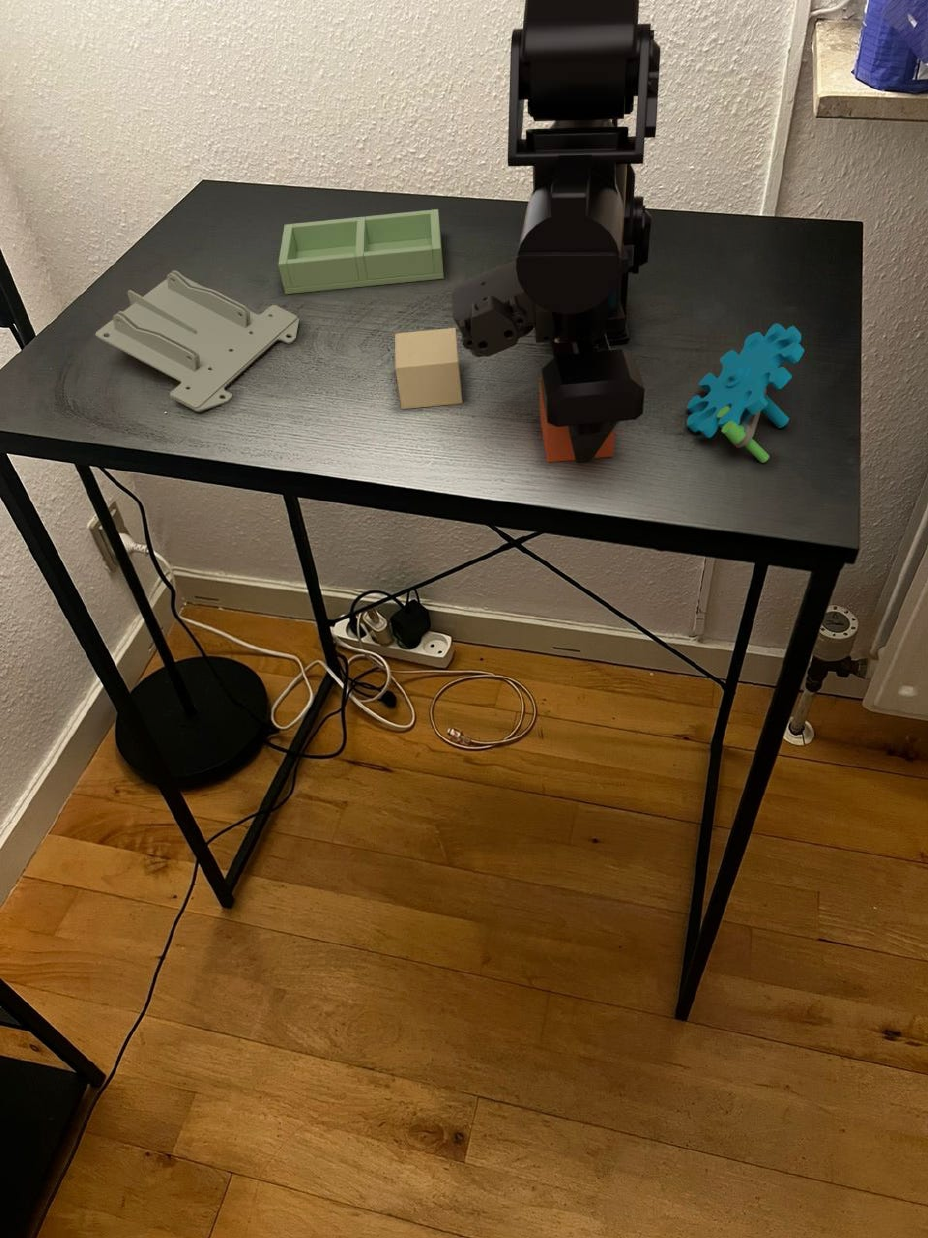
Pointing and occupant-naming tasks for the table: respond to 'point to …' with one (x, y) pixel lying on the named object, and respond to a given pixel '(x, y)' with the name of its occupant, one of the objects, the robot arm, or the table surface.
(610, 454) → the terracotta block
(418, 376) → the tan block
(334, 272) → the green divided tray
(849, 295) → the table surface
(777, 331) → the gear
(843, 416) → the table surface
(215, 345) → the metal bracket
